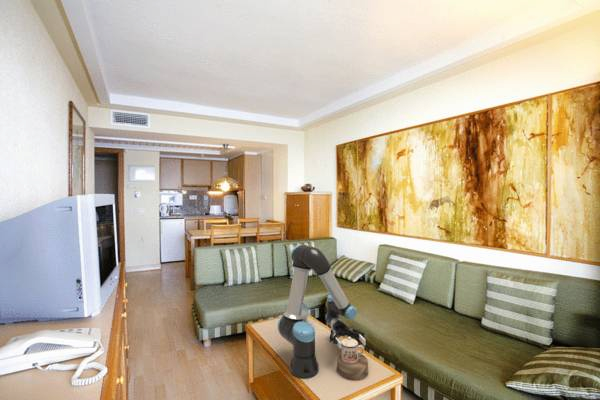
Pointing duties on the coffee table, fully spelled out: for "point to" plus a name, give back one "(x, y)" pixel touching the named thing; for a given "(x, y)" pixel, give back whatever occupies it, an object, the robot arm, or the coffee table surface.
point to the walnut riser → (353, 368)
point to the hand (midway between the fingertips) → (352, 344)
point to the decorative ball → (304, 312)
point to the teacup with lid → (350, 350)
